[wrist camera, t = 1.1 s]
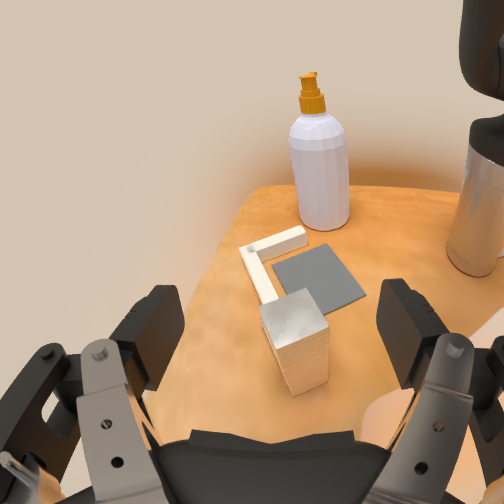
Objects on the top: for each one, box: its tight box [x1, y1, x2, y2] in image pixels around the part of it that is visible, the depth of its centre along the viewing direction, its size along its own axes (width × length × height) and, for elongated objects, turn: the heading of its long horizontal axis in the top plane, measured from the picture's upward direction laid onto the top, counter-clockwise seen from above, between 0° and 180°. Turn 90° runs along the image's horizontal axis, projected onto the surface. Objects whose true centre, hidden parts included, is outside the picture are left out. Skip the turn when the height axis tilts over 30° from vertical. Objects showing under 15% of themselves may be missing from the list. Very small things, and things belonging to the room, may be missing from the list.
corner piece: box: [239, 225, 308, 305], centre depth 37 cm, size 10×12×2 cm
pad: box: [272, 243, 366, 316], centre depth 36 cm, size 9×11×1 cm
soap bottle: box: [289, 72, 349, 231], centre depth 38 cm, size 9×9×24 cm
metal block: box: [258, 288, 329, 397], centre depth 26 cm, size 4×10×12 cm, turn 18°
